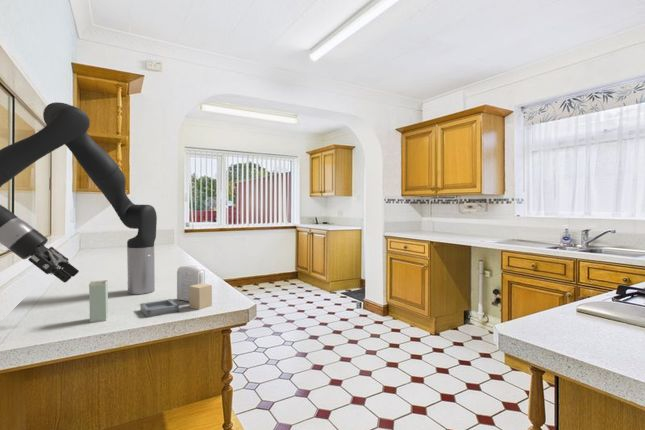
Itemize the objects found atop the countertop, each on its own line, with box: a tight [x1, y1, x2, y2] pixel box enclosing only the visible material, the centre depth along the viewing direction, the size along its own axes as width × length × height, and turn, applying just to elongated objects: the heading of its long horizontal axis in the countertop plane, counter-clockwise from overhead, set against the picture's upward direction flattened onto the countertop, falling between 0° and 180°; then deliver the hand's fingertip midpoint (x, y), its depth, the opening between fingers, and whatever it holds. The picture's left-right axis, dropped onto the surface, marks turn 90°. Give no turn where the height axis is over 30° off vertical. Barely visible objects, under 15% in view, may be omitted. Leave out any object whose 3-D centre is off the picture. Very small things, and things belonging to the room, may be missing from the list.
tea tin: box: [88, 279, 109, 323], centre depth 105 cm, size 4×4×11 cm
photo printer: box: [176, 264, 206, 302], centre depth 125 cm, size 10×4×12 cm, turn 69°
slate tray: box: [140, 298, 180, 318], centre depth 113 cm, size 9×9×2 cm
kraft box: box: [188, 283, 213, 311], centre depth 118 cm, size 5×5×7 cm
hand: (72, 276), depth 102 cm, fingers open, 8 cm apart
